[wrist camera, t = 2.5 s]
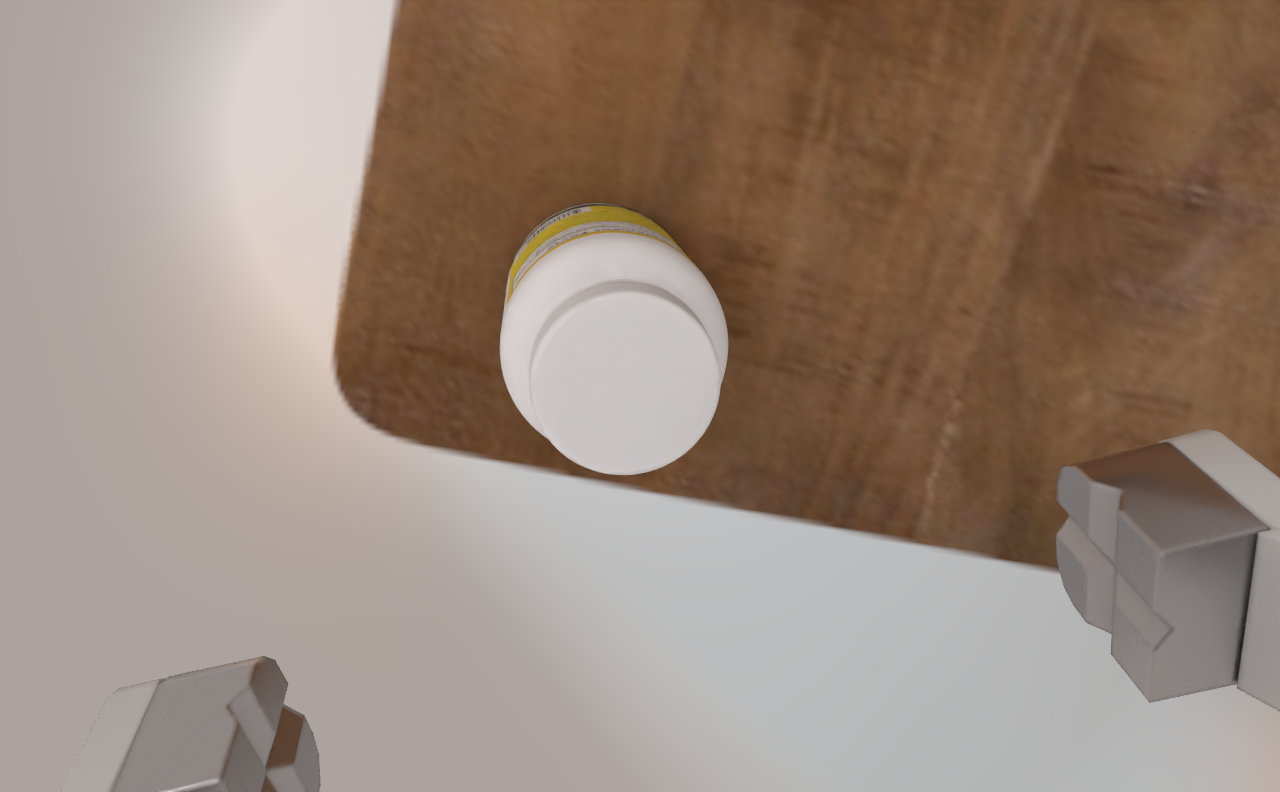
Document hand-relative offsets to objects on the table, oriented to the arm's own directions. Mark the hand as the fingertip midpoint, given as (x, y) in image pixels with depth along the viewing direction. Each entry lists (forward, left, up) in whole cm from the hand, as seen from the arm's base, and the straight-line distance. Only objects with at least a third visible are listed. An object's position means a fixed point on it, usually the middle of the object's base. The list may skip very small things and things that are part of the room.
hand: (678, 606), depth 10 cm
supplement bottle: (+1, 0, -21) cm, 21 cm away
